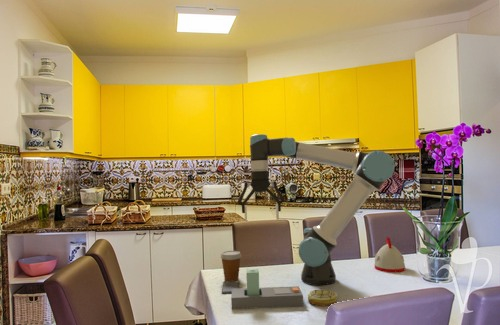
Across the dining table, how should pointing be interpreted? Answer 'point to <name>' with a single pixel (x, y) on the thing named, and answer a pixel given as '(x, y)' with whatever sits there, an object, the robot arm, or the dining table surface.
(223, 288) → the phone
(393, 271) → the kitchen timer
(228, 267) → the disposable coffee cup
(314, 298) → the yellow flat round piece
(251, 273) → the pale green tall block
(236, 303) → the power strip
